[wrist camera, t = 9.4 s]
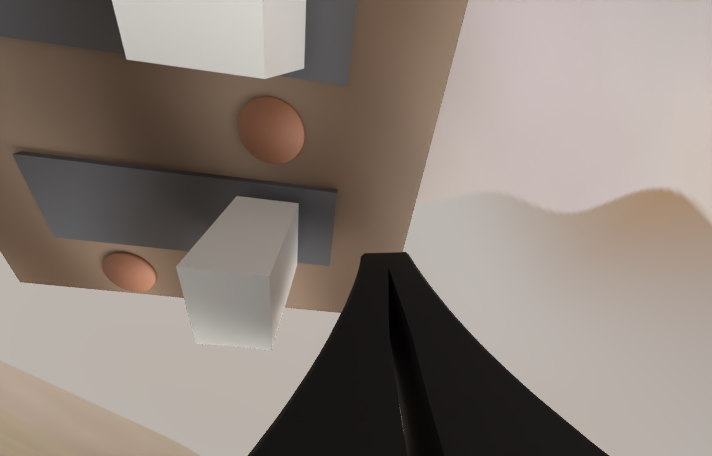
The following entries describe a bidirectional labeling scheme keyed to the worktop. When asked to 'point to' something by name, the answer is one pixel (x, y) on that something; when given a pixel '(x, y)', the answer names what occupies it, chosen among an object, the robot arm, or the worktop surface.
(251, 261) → the knob
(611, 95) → the worktop surface
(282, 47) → the knob
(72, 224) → the switch board
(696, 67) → the worktop surface
